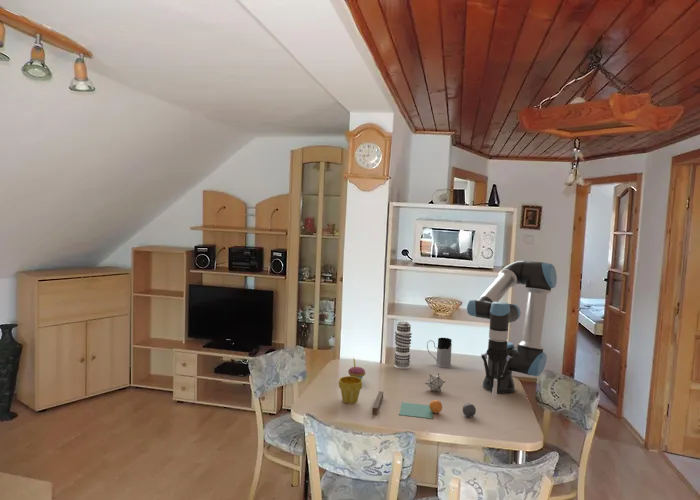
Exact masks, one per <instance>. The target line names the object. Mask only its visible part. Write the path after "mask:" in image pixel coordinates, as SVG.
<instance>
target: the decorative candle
mask: <svg viewBox="0 0 700 500" xmlns="http://www.w3.org/2000/svg"><path fill="white" fill-rule="evenodd" d="M411 327H412V326H411V324H410V322H408V321H404V320H403V321H399V322H398V323H396V331H395V333H394V334H395V335H394V337H395V338H394V340H395V342H394V343H395V353H394V368H396V369H401V370H407V369H409V368H410V365H411V364H410V363H411V360H410V359H411V354H410V353H411V352H410V348H411V344H412V342H411V341H412V339H411V338H412V335H413V333H412V332H411Z"/></svg>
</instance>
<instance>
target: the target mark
mask: <svg viewBox="0 0 700 500" xmlns="http://www.w3.org/2000/svg"><path fill="white" fill-rule="evenodd" d="M400 405H401V406H400V409H399V412H398V415H399V416H404V417H405V416H406V417H412V418H422V419H429V420H431V419H432V420H433V418H434V413H433V412H432V411H431V410H430V408H429V404H422V403H421V404H419V403H414V402H413V403H412V402H404V401H402V402H401V404H400Z"/></svg>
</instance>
